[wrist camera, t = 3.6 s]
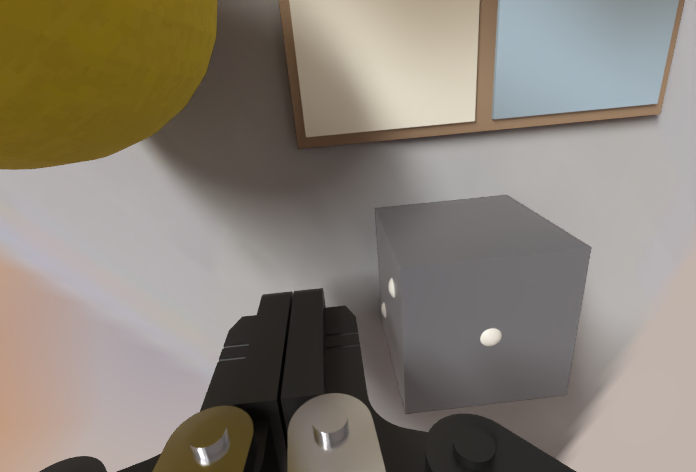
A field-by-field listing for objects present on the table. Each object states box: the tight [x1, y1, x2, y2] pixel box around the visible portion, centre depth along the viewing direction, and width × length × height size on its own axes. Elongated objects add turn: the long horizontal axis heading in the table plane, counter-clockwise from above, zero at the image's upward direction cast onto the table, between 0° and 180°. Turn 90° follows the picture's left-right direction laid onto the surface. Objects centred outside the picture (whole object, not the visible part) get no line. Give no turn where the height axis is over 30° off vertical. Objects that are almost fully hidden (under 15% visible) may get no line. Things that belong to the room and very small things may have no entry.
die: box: [375, 195, 591, 414], centre depth 11 cm, size 4×4×4 cm
